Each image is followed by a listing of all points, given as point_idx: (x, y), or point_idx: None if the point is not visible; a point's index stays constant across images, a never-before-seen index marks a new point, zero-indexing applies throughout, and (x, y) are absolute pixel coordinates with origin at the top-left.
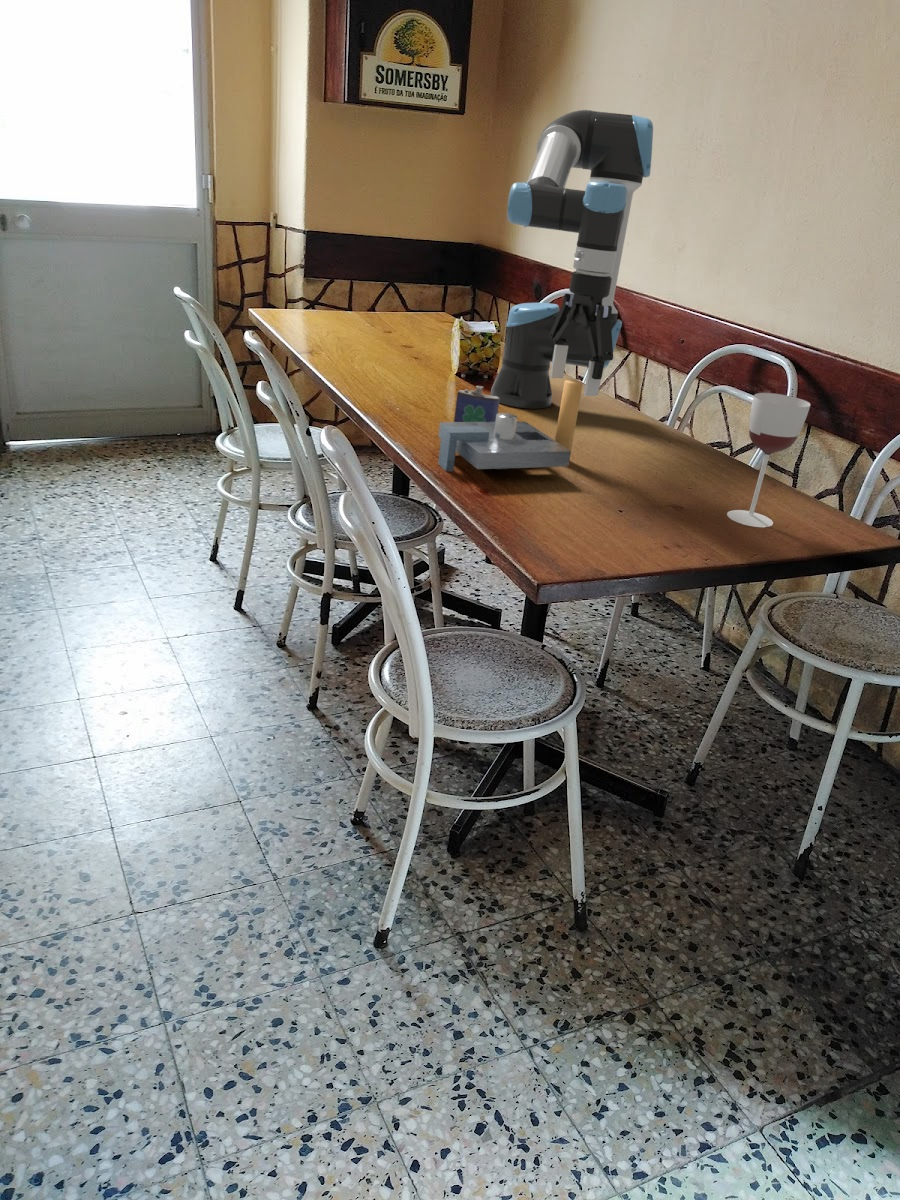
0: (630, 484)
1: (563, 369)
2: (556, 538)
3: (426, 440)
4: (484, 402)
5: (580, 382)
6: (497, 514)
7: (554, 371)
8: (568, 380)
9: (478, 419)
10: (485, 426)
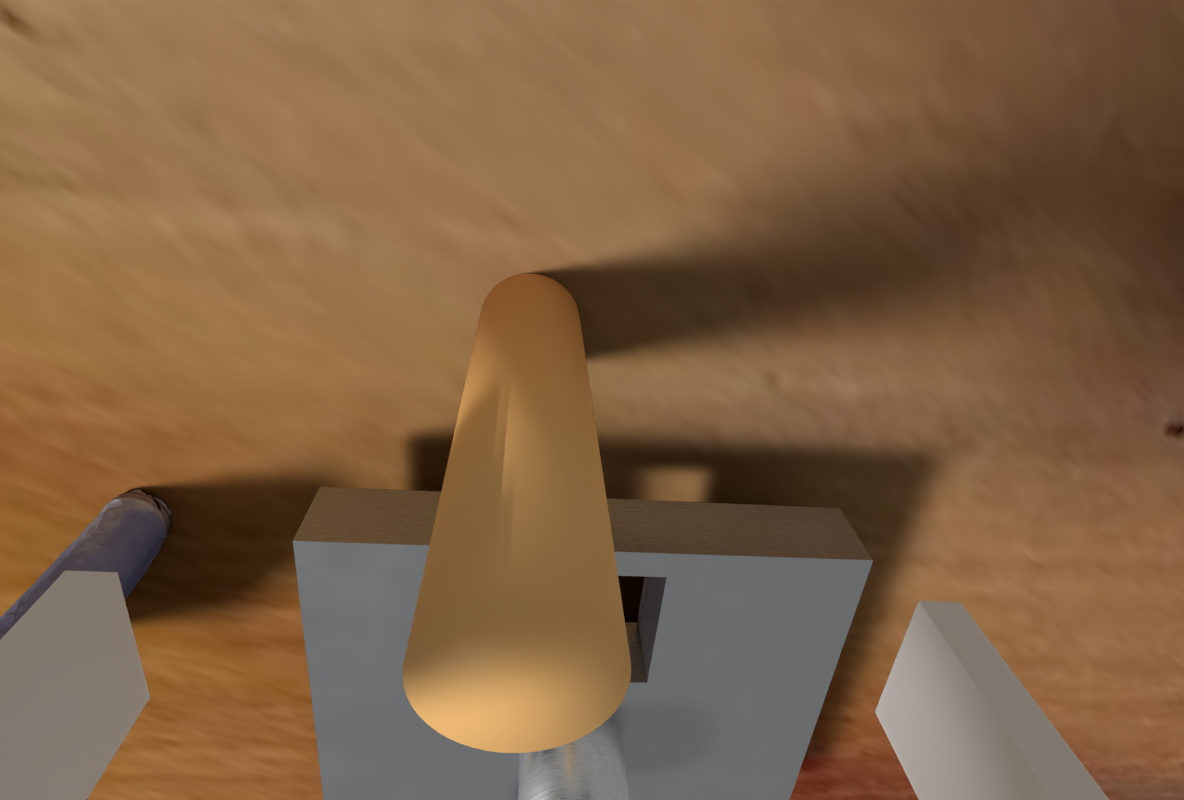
0: (980, 143)
1: (43, 676)
2: (1178, 726)
3: (216, 754)
4: None
5: (538, 611)
6: None
7: (96, 749)
8: (441, 699)
9: None
10: (401, 761)
